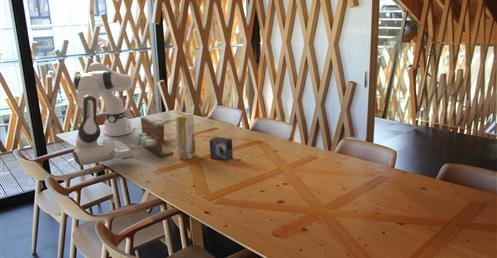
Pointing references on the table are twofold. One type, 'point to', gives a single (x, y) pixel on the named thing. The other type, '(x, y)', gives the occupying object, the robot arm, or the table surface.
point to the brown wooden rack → (154, 132)
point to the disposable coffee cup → (161, 128)
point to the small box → (221, 148)
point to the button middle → (139, 139)
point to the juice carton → (185, 136)
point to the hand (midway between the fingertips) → (134, 146)
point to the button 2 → (149, 142)
